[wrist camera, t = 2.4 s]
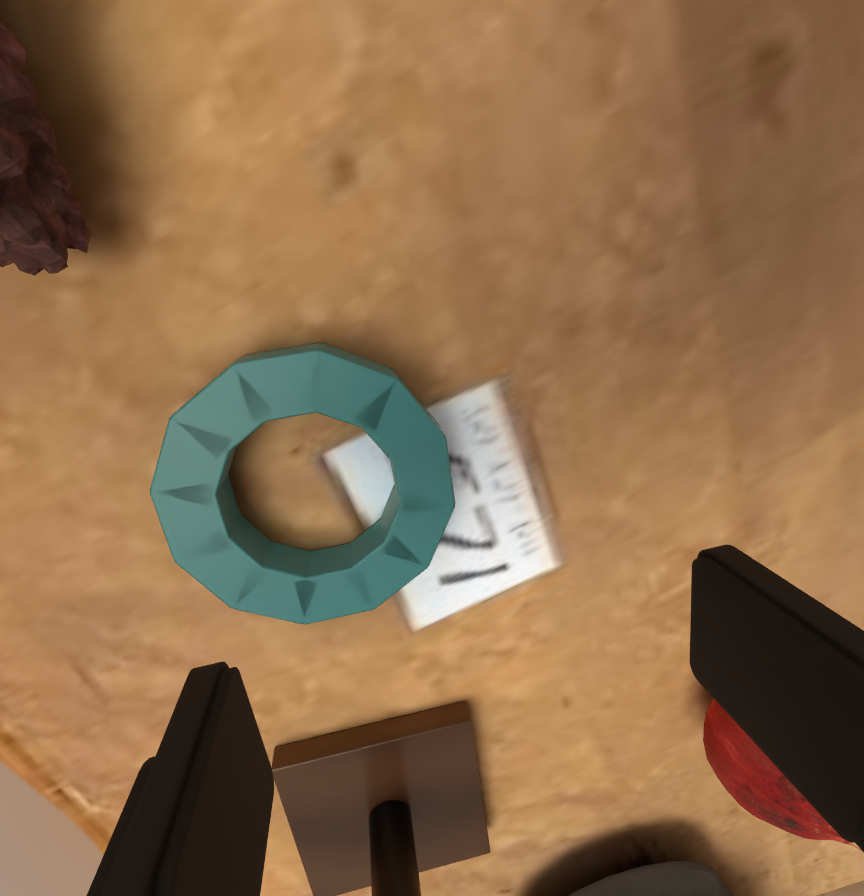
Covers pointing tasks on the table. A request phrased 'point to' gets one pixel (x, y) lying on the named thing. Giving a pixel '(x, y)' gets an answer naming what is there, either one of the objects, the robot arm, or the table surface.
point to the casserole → (660, 881)
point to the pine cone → (32, 177)
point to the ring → (281, 566)
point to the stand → (384, 801)
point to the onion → (759, 780)
